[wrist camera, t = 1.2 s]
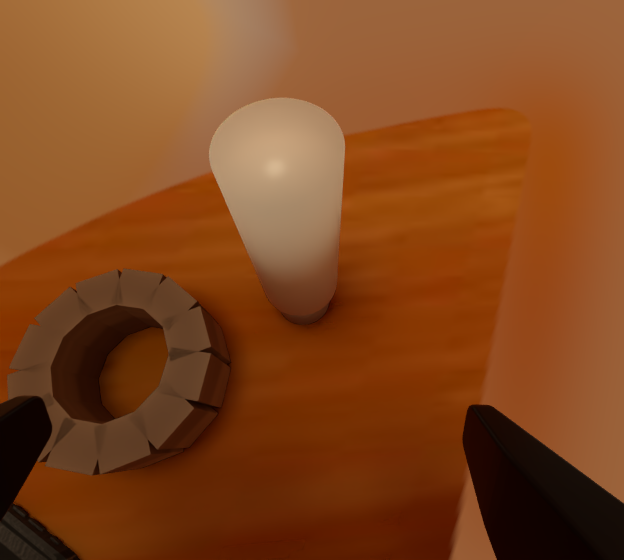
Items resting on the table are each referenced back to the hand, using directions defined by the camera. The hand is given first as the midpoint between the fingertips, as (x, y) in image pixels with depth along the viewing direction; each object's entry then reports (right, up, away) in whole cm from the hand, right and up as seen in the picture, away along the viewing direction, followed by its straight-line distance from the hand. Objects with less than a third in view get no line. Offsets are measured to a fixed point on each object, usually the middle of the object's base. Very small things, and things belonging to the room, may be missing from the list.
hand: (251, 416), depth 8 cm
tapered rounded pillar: (+1, +2, +15) cm, 15 cm away
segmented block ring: (-8, -3, +14) cm, 16 cm away
